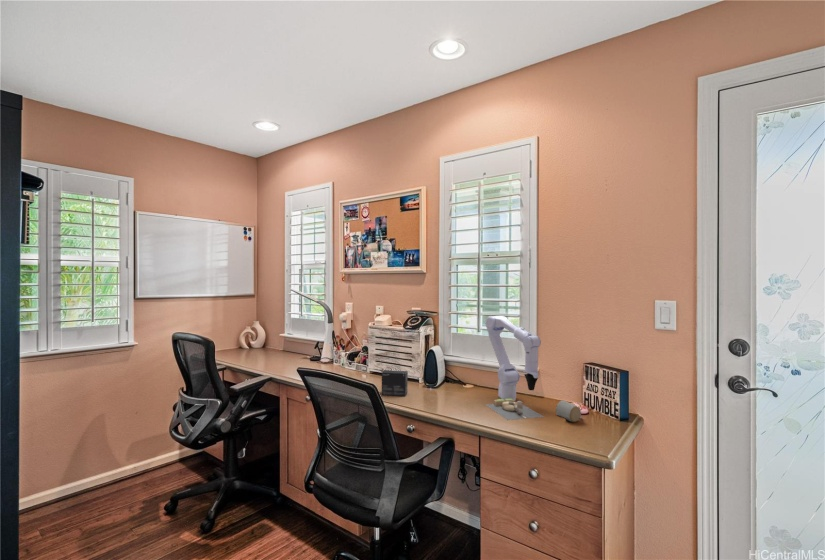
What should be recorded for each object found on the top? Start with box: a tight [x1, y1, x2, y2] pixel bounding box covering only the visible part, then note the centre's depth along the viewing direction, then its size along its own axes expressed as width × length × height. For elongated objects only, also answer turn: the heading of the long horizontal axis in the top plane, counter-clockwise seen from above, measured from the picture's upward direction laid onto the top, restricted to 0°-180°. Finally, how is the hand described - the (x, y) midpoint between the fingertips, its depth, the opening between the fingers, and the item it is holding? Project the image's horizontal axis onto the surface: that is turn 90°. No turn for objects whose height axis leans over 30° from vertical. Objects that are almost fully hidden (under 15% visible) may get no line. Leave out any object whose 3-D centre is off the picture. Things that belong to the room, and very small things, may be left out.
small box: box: [381, 369, 409, 397], centre depth 213 cm, size 13×7×12 cm, turn 82°
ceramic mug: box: [555, 400, 583, 423], centre depth 177 cm, size 11×8×8 cm
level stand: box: [484, 398, 545, 421], centre depth 184 cm, size 22×18×4 cm
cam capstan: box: [502, 400, 524, 414], centre depth 184 cm, size 13×8×5 cm, turn 14°
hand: (531, 389), depth 190 cm, fingers closed
